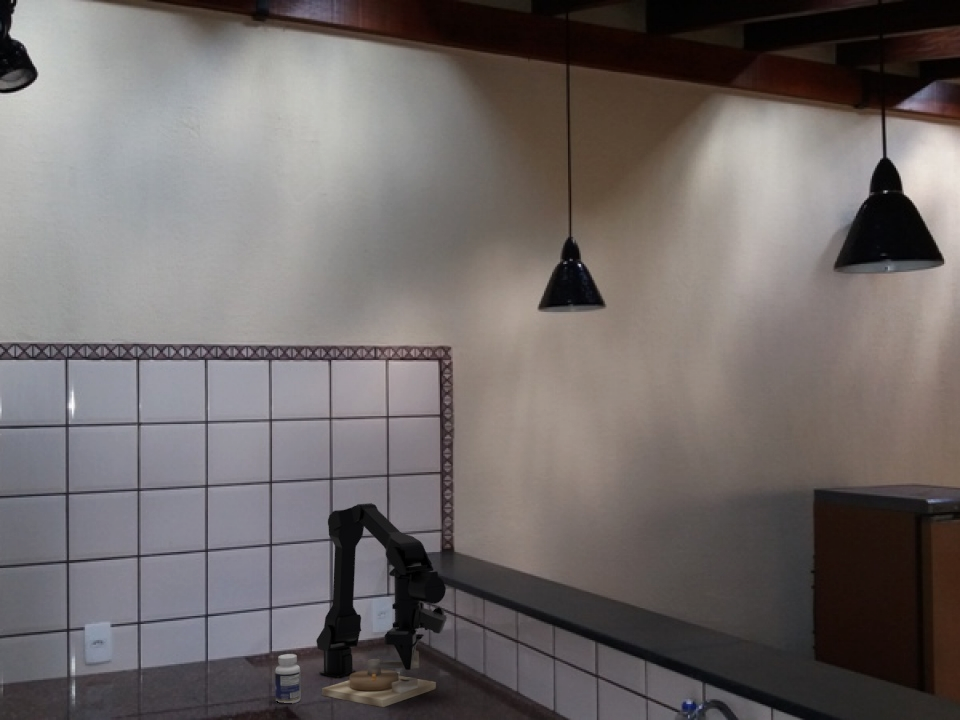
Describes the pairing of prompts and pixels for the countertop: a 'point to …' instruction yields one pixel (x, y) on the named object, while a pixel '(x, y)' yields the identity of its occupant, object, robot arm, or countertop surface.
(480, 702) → the countertop surface
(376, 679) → the crank handle
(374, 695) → the stand
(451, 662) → the countertop surface
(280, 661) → the pill bottle
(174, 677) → the countertop surface
